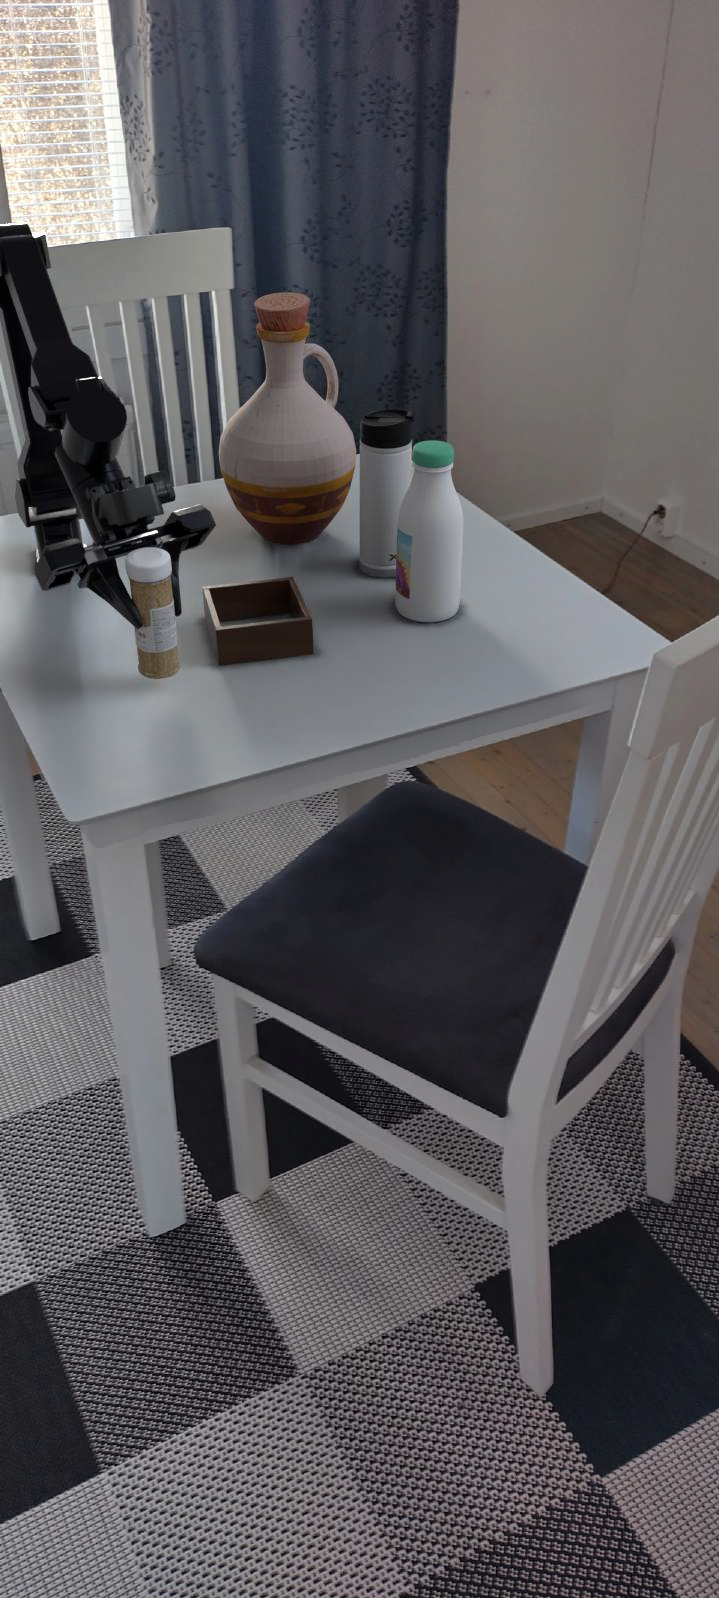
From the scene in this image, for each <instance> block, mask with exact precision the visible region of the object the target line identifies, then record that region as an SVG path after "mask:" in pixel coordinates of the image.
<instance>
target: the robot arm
mask: <svg viewBox="0 0 719 1598" xmlns="http://www.w3.org/2000/svg"><path fill="white" fill-rule="evenodd" d="M50 258H51V257H50V253H49V246H48V241H47V236H46V233H45V232H39V231H38V232H32V229H31V227H30V225H29V223H27V222H20V223H8V224H7V223H6V224H0V326H1V331H2V336H3V341H4V346H5V350H6V356H7V359H8V364H9V369H10V374H11V379H12V384H13V389H14V393H15V397H16V402H17V407H18V411H19V412H18V413H19V416H20V422H21V426H22V431H23V435H24V436H23V437H24V442H23V446H22V449H21V451H20V454H19V457H18V460H17V463H16V466H17V470H18V471H17V472H18V476H19V478H18V479H17V478H16V480H15V490H14V491H15V493H14V501H15V505H16V509H17V513H18V516H19V518H20V520H21V521H22V523H23V524H24V526H25V527H26V529H28V528H31V527H33V529H34V535H35V541H36V546H37V548H36V549H35V558H36V559H35V560H36V564H35V567H34V572H35V577H36V579H37V581H38V584H39V586H40V588H41V590H42V591H45V592H46V591H47V592H48V591H50V590H51V591H52V590H54V589H57V588H61V587H65V586H68V585H70V584H71V582H72V580H73V577H74V575H75V573H76V574H77V575H78V577H79V580H78V582H77V583H76V585H77V587H78V588H79V590H81V589H82V590H83V589H88V590H90V591H91V592H93V594H95V595H96V596H98V597H99V598H101V599H102V600H103V601H105V602H106V603H107V604H109V606H111V607H112V608H113V609H115V611H116V612H118V613H119V614H120V616H121V617H123V618H124V619H125V620H126V621H127V622H128V623H129V624H131V626H133V628H134V627H135V628H136V629H140V628H141V627H142V626H143V624H142V621H141V618H140V616H139V613H138V611H137V609H136V607H135V605H134V603H133V601H132V597H131V594H129V592H128V590H127V587H126V586H125V584H124V582H123V580H122V577H121V575H120V571H119V568H118V567H119V566H118V563H117V559H118V558H123V557H126V556H127V555H128V554H129V553H130V552H132V551H134V550H136V549H140V548H147V547H154V548H160V549H163V550H165V551H167V552H168V553H169V555H170V558H171V566H172V572H171V586H172V595H173V599H174V609H175V618H178V617H180V616H181V615H182V614H183V613H182V612H183V610H182V609H183V607H182V598H181V587H180V585H181V584H180V576H179V573H180V572H179V568H180V567H179V566H180V557H181V554H182V553H183V552H185V551H189V550H193V549H195V548H198V547H199V546H202V545H203V544H204V542H205V541H206V540H207V538H208V537H209V536H210V534H211V533H212V531H213V530H214V529H215V528H216V526H217V524H216V521H215V519H214V517H213V515H212V512H211V511H210V510H209V509H208V508H207V507H205V506H204V505H202V504H196V505H192V506H189V507H185V508H182V509H178V510H173V511H172V512H171V513H170V515H169V516H168V518H167V519H166V521H165V522H164V523H163V525H160V526H156V527H152V528H149V527H148V526H149V525H152V524H153V523H154V521H155V519H156V517H158V516H162V515H164V514H165V511H164V507H163V505H164V504H168V503H173V502H175V501H176V492H175V489H174V485H173V483H172V481H171V478H170V477H169V474H168V473H167V471H166V469H163V470H159V471H155V472H152V473H149V474H145V475H144V478H143V479H144V484H143V485H139V486H136V484H135V483H136V482H134V479H132V478H131V476H130V475H129V476H125V474H124V472H123V469H122V467H121V465H120V463H119V460H118V458H117V457H118V455H119V453H120V449H121V445H122V442H123V438H124V434H125V430H126V426H127V422H128V415H127V409H126V406H125V404H123V403H122V401H121V398H120V396H118V395H117V394H116V393H115V392H114V391H113V390H112V389H111V387H110V386H109V385H108V384H107V382H106V380H105V379H104V378H103V377H102V376H99V375H98V372H97V370H96V368H95V365H94V363H93V361H92V359H91V356H90V355H89V354H88V353H87V352H85V351H84V350H82V349H81V348H79V347H78V346H77V345H75V344H74V342H73V339H72V338H71V335H70V332H69V330H68V326H67V324H66V321H65V317H64V315H63V312H62V309H61V306H60V303H59V300H58V298H57V295H56V292H55V289H54V287H53V283H52V281H51V278H50V275H49V273H48V270H49V269H51V268H52V264H51V259H50ZM80 520H83V521H84V523H85V526H86V528H87V530H88V532H89V534H90V536H91V539H92V541H93V543H92V544H91V545H87V544H85V543H84V541H83V540H84V539H83V535H82V529H81V522H80ZM74 571H75V572H74ZM135 628H134V629H135Z"/></svg>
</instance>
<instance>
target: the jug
mask: <svg viewBox="0 0 719 1598" xmlns="http://www.w3.org/2000/svg"><path fill="white" fill-rule="evenodd" d="M310 303H311V299H310V297H309V296H307V295H306V294H303V293H299V292H292V291H290V292H288V291H287V292H285V291H283V292H275V293H274V292H273V293H269V294H266V295H263V296H260V297H259V298H257V299H256V300H255V301H254V303H253V306H254V309H255V312H256V315H257V318H258V321H259V322H258V323H256V325H255V329H256V333H257V336H258V338H259V339H260V341H261V344H262V350H263V353H264V361H265V370H266V372H265V379H264V382H263V383H262V384H261V386H259V388H258V389H257V390H256V391H255V392H254V394H253V395H252V396H251V397H250V398H249V399H248V400H247V401H246V402H245V403H244V404H243V405H241V407H239V409H237V411H236V412H235V413H234V414H233V415H232V416H231V418H229V419H228V421H227V423H226V425H225V427H224V429H223V431H222V432H221V435H220V439H219V446H218V460H219V467H220V472H221V476H222V478H223V481H224V484H225V488H226V490H227V492H228V494H229V496H230V499H231V501H232V503H233V505H234V507H235V509H236V510H237V511H238V513H240V515H241V516H242V517H243V518H244V520H245V521H246V522H247V523H248V524H249V525H250V526H251V527H252V528H253V529H254V530H255V531H256V532H257V533H258V534H259V535H260V536H261V537H262V538H263V539H264V540H266V541H267V542H270V543H272V544H276V545H283V546H296V545H303V544H306V543H307V544H308V543H310V542H312V541H315V539H317V538H318V537H320V535H321V534H322V533H323V532H324V531H325V529H326V528H327V527H328V526H329V525H330V524H331V522H332V521H333V520H334V518H335V517H336V516H337V515H338V514H339V512H340V510H341V509H342V508H343V506H344V504H345V502H346V499H347V498H348V497H347V496H348V494H349V492H350V490H351V487H352V481H353V478H354V474H355V469H356V465H357V464H356V461H357V447H356V442H355V437H354V433H353V431H352V429H351V428H350V426H349V424H348V423H347V421H346V419H345V417H343V416H342V414H340V413H339V412H338V411H337V410H336V409H335V408H336V404H337V402H338V396H339V376H338V371H337V368H336V366H335V365H336V364H335V362H334V360H333V358H332V356H331V355H330V354H329V352H328V351H327V350H326V349H325V348H323V347H322V346H321V345H319V344H316V343H306V339H307V338H308V337H309V334H310V329H311V324H310V322H308V321H307V318H308V312H309V308H310ZM310 356H312V357H315V358H316V359H317V360H318V361H319V362H320V364H321V365H322V367H323V369H324V372H325V375H326V380H327V391H326V398H325V399H324V398H322V396H320V395H319V393H318V392H317V391H316V390H315V389H314V388H313V387H312V386H311V385H310V384H309V383H308V382H307V381H306V379H305V376H304V369H303V368H304V360H305V359H306V358H307V357H310Z"/></svg>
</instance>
